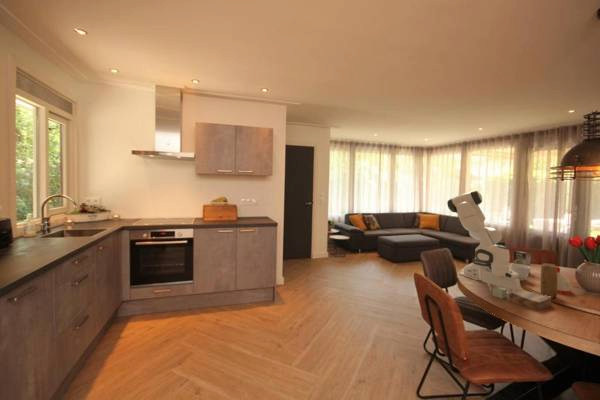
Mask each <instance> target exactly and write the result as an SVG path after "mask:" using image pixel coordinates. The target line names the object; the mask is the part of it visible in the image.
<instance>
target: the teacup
mask: <svg viewBox="0 0 600 400" xmlns="http://www.w3.org/2000/svg"><path fill="white" fill-rule="evenodd" d="M509 267H510V270H512V271H514V272H516V273H518V274H519V277H517V278H519V280H520V281H525V280H526V279H527V278H528V276H529V274H530V273H529V269H530V270H531V269H532V268H531V266H530V267H529V266H526V265H522V264H514V262H513V263H511V264H509Z"/></svg>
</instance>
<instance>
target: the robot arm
mask: <svg viewBox="0 0 600 400" xmlns="http://www.w3.org/2000/svg"><path fill="white" fill-rule="evenodd" d="M482 202H483V196H482V195H481V193H480V192H479V191H478V190H471V191H468V192H464V193H462V194H459V195H457V196H455V197H453V198H450V199H448V200H447V201H446V203H447V208H448V210H449V211H450V212H453V213H456V214H457V216H458V218H459V219H458V220H459V222H460V223H461V225H462V227H463V228H464V229H465V230H466V231H468V234H469V236H470V237H472V238H473V239H475V240H478V241H480V242H479V245H478V246H477V247H476V248H475V252H474V258H472V259H471V263H469V264H468V265H465V266H464V268H463V270H462V271H460V273H459V275H461V276H463V277H466V278H470V279H472V280H475V281H482V282H484V283H485V284H487V286H488V288H489V291H490V292H493V288H494V287H492V285H493V286H495V287H500V288H504V289H508V291H506V297H510V294H511V293H513V291H514V292H517V291H520V289H521V280H519V278H517V277H519V274H518V273H516V272H514V271H512V269H511V268H510V264H509V263H510V257H511V256H510V250H509V248H508V247H507V246H505V245H502V244H498V243H499V242H501V240H502V239H503V234H502V232H501V231H500V230H498V229H496V228H494V227H488V226H486V224H485V221H486V217H485V215H484V213H483V211H482V210H481V207H480V204H482Z"/></svg>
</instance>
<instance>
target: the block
mask: <svg viewBox="0 0 600 400" xmlns="http://www.w3.org/2000/svg"><path fill="white" fill-rule="evenodd" d="M557 267H558V266H557V265H556V264H554V263H546V262H545V263H541V269H540V295H541V294H543V295H547V296H551V297H556V298H557V296H558V293H557Z"/></svg>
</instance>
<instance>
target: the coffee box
mask: <svg viewBox="0 0 600 400" xmlns="http://www.w3.org/2000/svg"><path fill="white" fill-rule="evenodd" d="M531 257H532V253H531V252H526V251H521V250H515V251H513V263H514V264H522V265H526V266H529V267H531V263H532V262H531V259H532V258H531ZM530 273H531V268H530V269H529V274H530Z"/></svg>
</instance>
